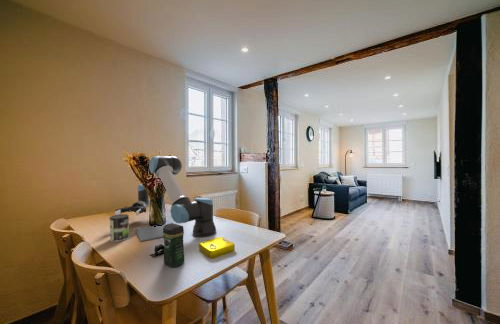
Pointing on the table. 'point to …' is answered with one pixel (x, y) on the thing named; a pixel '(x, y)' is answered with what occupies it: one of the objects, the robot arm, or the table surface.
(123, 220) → the coffee can
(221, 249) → the element tile
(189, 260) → the table surface
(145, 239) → the rubber mat
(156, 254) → the dark grey angular piece
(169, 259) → the coffee jar
